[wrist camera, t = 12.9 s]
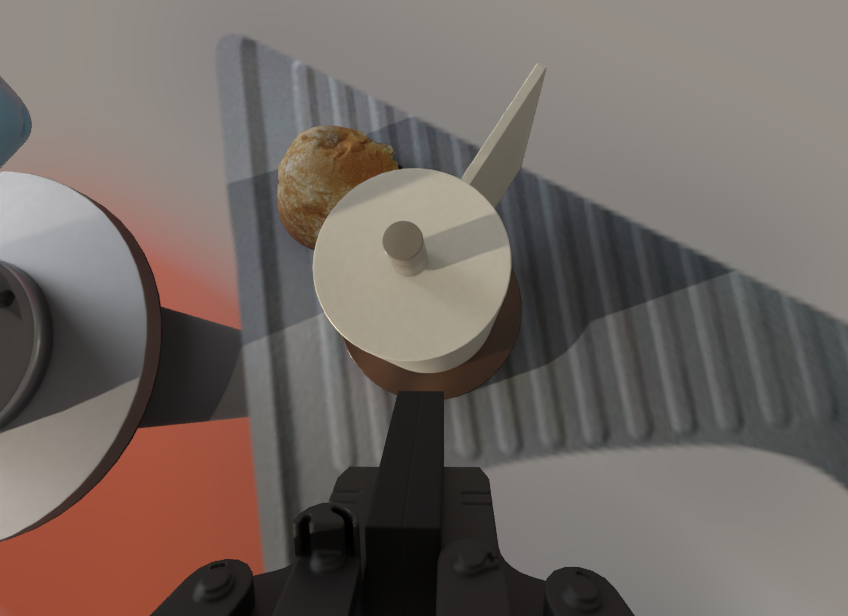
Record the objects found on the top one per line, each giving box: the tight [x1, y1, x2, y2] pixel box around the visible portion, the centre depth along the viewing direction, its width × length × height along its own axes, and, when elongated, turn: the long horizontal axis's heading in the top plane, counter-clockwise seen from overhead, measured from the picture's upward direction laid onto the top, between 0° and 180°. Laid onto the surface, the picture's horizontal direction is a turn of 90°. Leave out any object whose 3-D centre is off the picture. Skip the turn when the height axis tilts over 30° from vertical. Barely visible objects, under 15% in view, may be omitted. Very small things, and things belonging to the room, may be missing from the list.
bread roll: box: [277, 126, 403, 250], centre depth 38 cm, size 10×10×8 cm
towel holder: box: [342, 221, 522, 399], centre depth 29 cm, size 14×14×18 cm
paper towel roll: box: [313, 63, 546, 373], centre depth 30 cm, size 18×10×12 cm, turn 131°
